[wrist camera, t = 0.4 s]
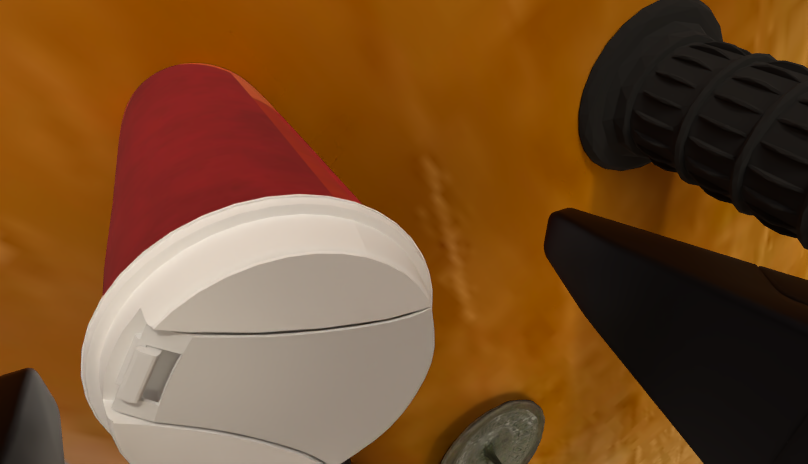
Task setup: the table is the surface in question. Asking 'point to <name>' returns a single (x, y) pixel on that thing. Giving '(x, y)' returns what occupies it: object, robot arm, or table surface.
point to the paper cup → (246, 290)
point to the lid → (500, 436)
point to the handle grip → (702, 113)
